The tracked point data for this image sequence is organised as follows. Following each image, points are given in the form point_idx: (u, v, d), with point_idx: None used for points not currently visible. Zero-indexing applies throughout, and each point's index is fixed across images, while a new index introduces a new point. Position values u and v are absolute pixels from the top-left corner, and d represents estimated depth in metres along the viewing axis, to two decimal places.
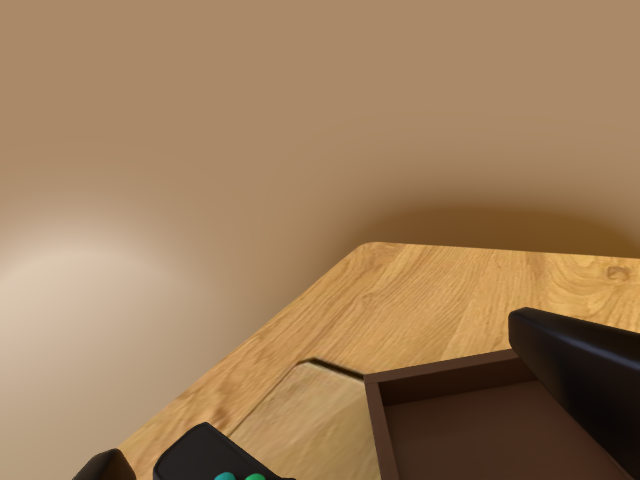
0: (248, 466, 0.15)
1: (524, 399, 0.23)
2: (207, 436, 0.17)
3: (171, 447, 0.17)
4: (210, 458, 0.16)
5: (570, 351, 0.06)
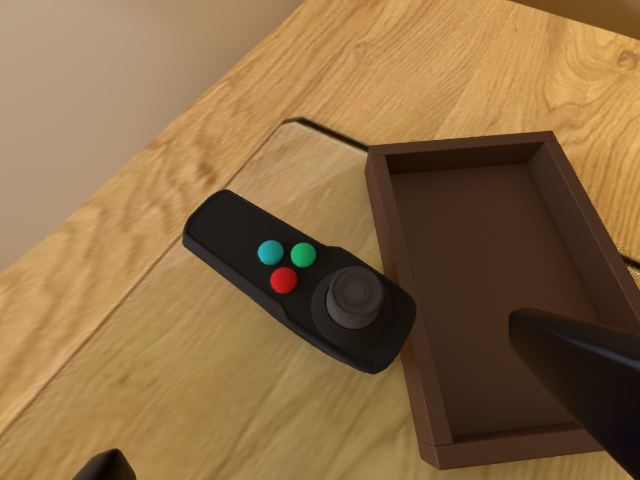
0: (290, 235, 0.16)
1: (507, 178, 0.26)
2: (234, 204, 0.16)
3: (196, 212, 0.16)
4: (246, 226, 0.16)
5: (570, 351, 0.06)
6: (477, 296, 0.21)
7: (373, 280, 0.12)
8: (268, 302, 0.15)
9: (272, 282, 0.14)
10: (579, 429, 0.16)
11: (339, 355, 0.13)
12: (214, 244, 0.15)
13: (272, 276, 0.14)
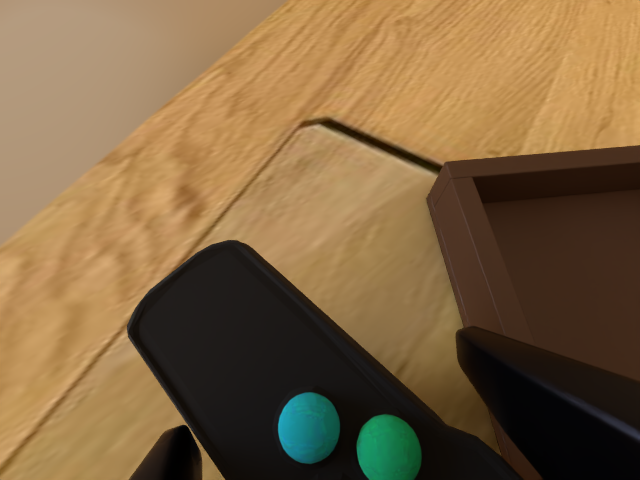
0: (359, 380, 0.07)
1: None
2: (245, 278, 0.08)
3: (163, 286, 0.08)
4: (263, 337, 0.07)
5: (505, 375, 0.06)
6: None
7: None
8: None
9: None
10: None
11: None
12: (184, 373, 0.07)
13: None
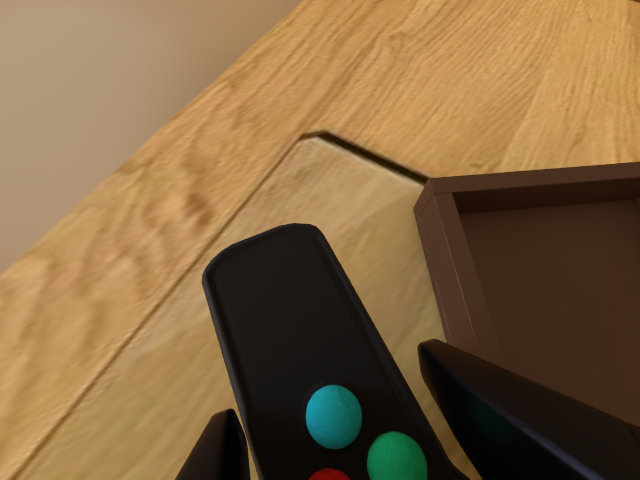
0: (389, 393, 0.07)
1: (611, 222, 0.19)
2: (316, 264, 0.08)
3: (244, 245, 0.08)
4: (315, 322, 0.08)
5: (459, 393, 0.06)
6: (594, 407, 0.15)
7: None
8: None
9: None
10: None
11: None
12: (241, 327, 0.08)
13: None
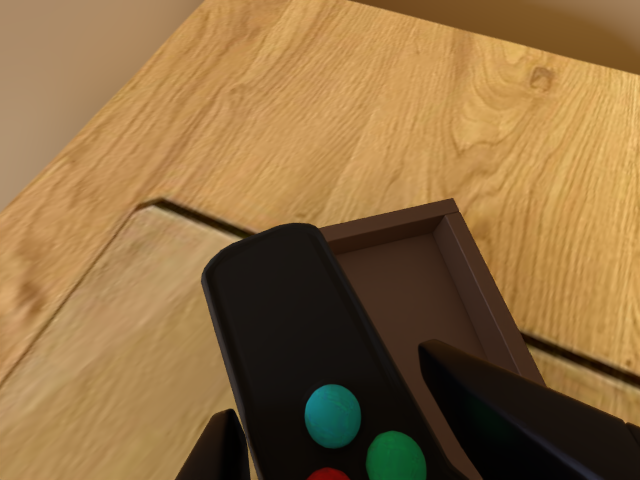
0: (388, 393, 0.07)
1: (410, 258, 0.21)
2: (315, 264, 0.08)
3: (243, 244, 0.08)
4: (315, 322, 0.08)
5: (459, 392, 0.06)
6: None
7: None
8: None
9: None
10: None
11: None
12: (240, 326, 0.08)
13: None
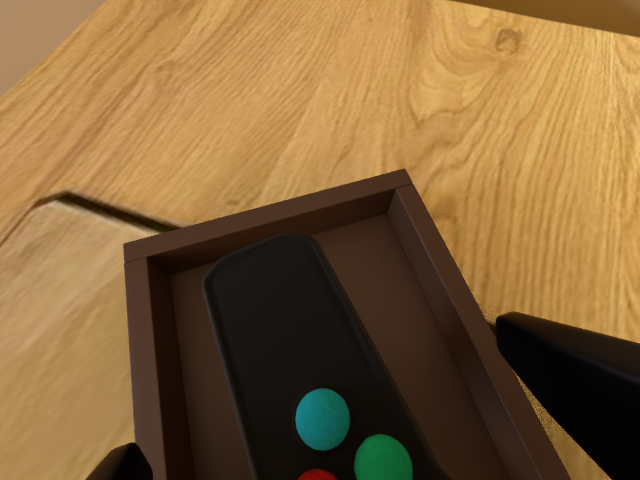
0: (377, 397, 0.07)
1: (360, 244, 0.17)
2: (308, 272, 0.09)
3: (240, 254, 0.09)
4: (307, 328, 0.08)
5: (555, 357, 0.06)
6: None
7: None
8: None
9: None
10: None
11: None
12: (236, 332, 0.08)
13: None
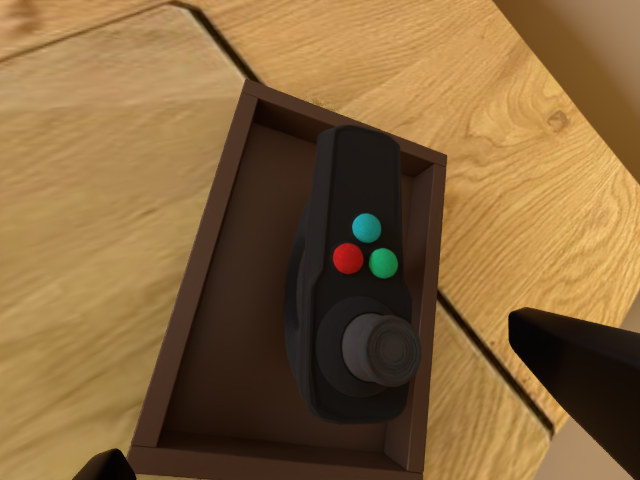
0: (393, 237, 0.13)
1: None
2: (390, 162, 0.14)
3: (360, 129, 0.14)
4: (376, 187, 0.14)
5: (570, 351, 0.06)
6: None
7: (414, 362, 0.10)
8: (315, 254, 0.12)
9: (339, 248, 0.12)
10: (300, 462, 0.15)
11: (307, 362, 0.11)
12: (341, 166, 0.13)
13: (345, 244, 0.12)
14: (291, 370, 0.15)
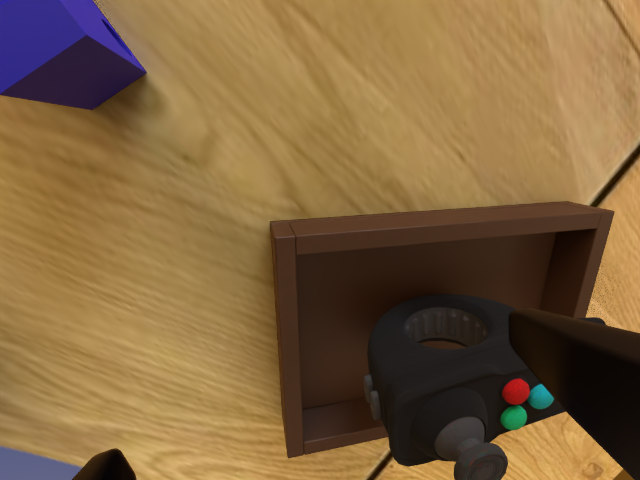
0: (531, 416, 0.15)
1: None
2: None
3: None
4: None
5: (570, 351, 0.06)
6: None
7: None
8: (509, 361, 0.14)
9: (524, 383, 0.14)
10: (299, 364, 0.18)
11: (433, 389, 0.13)
12: None
13: (528, 387, 0.14)
14: (376, 341, 0.17)
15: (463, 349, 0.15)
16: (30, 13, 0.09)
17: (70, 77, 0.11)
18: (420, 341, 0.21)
